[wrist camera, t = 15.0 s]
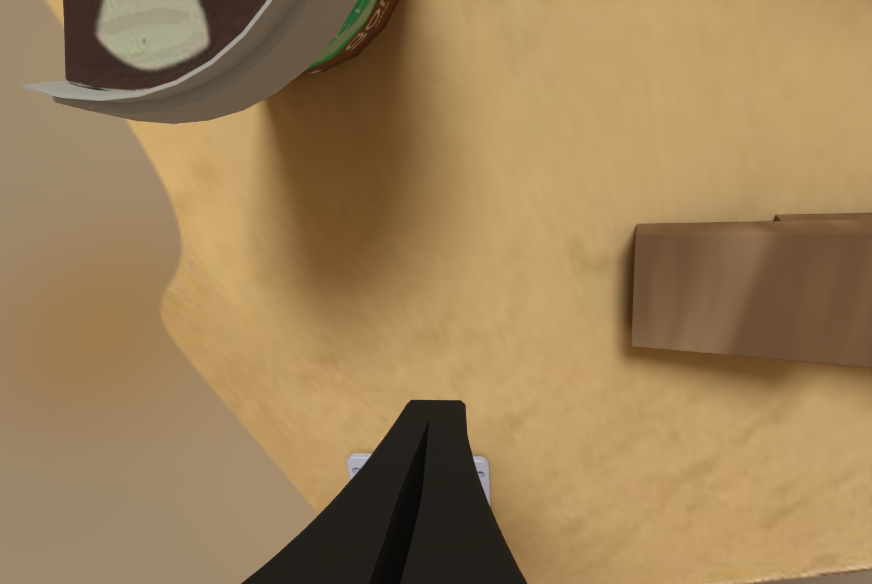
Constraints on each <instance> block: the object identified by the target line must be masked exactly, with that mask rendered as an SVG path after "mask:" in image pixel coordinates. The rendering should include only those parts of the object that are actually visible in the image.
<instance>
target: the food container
mask: <svg viewBox="0 0 872 584" xmlns="http://www.w3.org/2000/svg"><path fill="white" fill-rule="evenodd" d="M398 1H399V0H63V8H64V33H65V67H66V80H64V81H55V82H44V83H34V84H23V89H26V90H30V91H35V92H39V93H43V94H47V95H51V99H52V101H53V102H56V103H61V104H64V105H68V106H72V107H76V108H81V109H84V110H88V111H93V112H98V113H102V114H107V115H112V116H116V117H121V118H126V119H131V120H135V121H145V122H157V123H170V124H177V123H187V122H197V121H207V120H212V119H215V118H219V117H222V116H225V115H229V114H232V113H236V112H239V111H242V110H245V109H247V108H249V107H251V106H252V105H254V104H256V103H258V102H260V101H262V100H264V99H266V98H268V97H270V96H272V95H274V94H275V93H277V92H278V91H280V90H281V89H282V88H283V87H285V86H286V85H287V84H288V83H290V82H291V81H292V80H294V79H295V78H296V77H297V76H299V75H305V74H311V73H317V72H323V71H326V70H328V69H330V68H332V67H334V66H336V65H338V64H340V63H342V62H345V61H347V60H349V59H351V58H353V57H355V56H357V55H358V54H359V53H360V52H361V51H362V50H363V49H364V48H365V47H366V46H367V45H368V44H369V43H370V42H371V41H372V40H373V39H374V38H375V37H376V36H377V35H378V34H379V33H380V32H381V31H382V30H383V29H384V28H385V26H386V24H387V22H388V20H389V18H390V16H391V15H392V13H393V11H394V9H395V7H396V5H397V3H398Z"/></svg>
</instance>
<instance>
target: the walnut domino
mask: <svg viewBox="0 0 872 584" xmlns="http://www.w3.org/2000/svg"><path fill="white" fill-rule="evenodd" d="M631 346H635V347H646V348H658V349H669V350H680V351H691V352H702V353H714V354H725V355H736V356H747V357H759V358H770V359H781V360H792V361H803V362H815V363H826V364H837V365H848V366H860V367H871V368H872V219H870V220H817V221H764V222H711V223H659V224H637V228H636V235H635V261H634V289H633V316H632V343H631Z"/></svg>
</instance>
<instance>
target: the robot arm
mask: <svg viewBox="0 0 872 584" xmlns="http://www.w3.org/2000/svg"><path fill="white" fill-rule="evenodd" d="M347 466H348V471H349V476H350V481H349V483H348V484H347V485H346V486H345V487H344V488H343V490H342V491H341V492H340V493H339V494H338V495H337V496H336V497H335V499H334V500H333V501H332V502H331V503H330V504H329V505H328V506H327V507H326V508H325V509H324V510H323V511H322V512H321V513H320V514H319V515H318V516H317V517H316V519H314V520H313V521H312V522H311V523H310V524H309V525H308V526H307V527H306V528H305V529H304V530H303V531H302V532H301V533H300V534H299V535H298V536H296V537H295V538H294V539H293V540H292V541H291V542H290V543H289V544H288V545H287V546H286V547H284V548H283V549H282V550H281V551H280V552H279V553H278V554H277V555H276V556H275V557H273V558H272V559H271V560H270V561H269V562H268V563H266V564H265V565H264V566H263V567H262V568H260V569H259V570H258V571H257V572H255V573H254V574H253V575H251V576H250V577H249V578H248V579H246V580H245V581H244V582H243V583H241V584H527V582H526V580H525V578H524V577H523V575H522V573H521V571H520V569H519V568H518V566H517V564H516V562H515V560H514V558H513V556H512V554H511V552H510V550H509V548H508V546H507V544H506V542H505V539H504V537H503V535H502V533H501V531H500V528H499V526H498V524H497V522H496V520H495V517H494V515H493V512H492V510H491V504H490V476H489V462H488V460H487V459H486V458H484V457H481V456H472V452H471V448H470V444H469V440H468V435H467V423H466V406H465V404H464V403H463V402H462V401H461V400H411V401H410V402H408V403H407V405H406V406H405V408H404V410H403V411H402V413H401V414H400V416H399V417H398V419H397V420H396V422H395V423H394V425H393V426H392V427H391V429H390V430H389V432H388V433H387V435H386V436H385V437H384V439H383V440H382V441H381V443H380V444H379V445H378V447H377V448H376V449H375V451H374V452H373V453H353V454H351V455H350V456H349V457H348V460H347ZM356 468H359V469H356ZM479 471H481V472H483V473H478V472H479Z"/></svg>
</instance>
